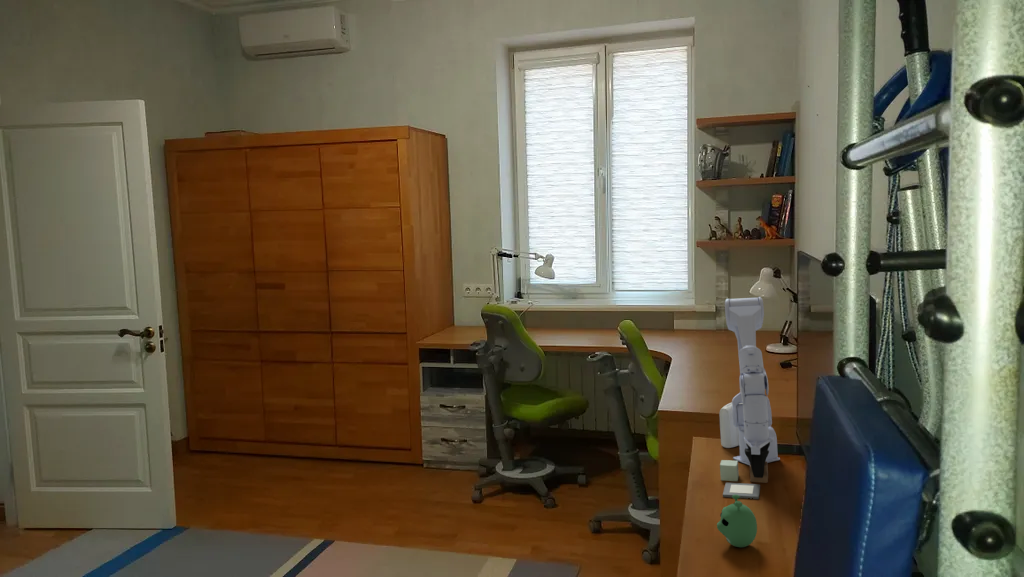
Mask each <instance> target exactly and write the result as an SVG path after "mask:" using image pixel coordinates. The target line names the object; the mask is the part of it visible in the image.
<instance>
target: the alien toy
mask: <svg viewBox="0 0 1024 577" xmlns="http://www.w3.org/2000/svg"><path fill="white" fill-rule="evenodd" d="M731 498H732V499H734V503H731V504H729V505H727V506H724V507H722V510H721V513H720V515H719V516H720V520H719V521H718V522H717V523H716V528H717V530H718V531H719V532H720V533H721V534H722V535H723V536H724V538H726V542H727V543H729V544H730V545H731V546H733V547H737V548H746V547H748V546H750V545H751V544H753V542H754V540H755V539H756V536H757V532H758V523H757V519H756V516H755V514H754V513H753V511H752V510H751V508H750V507H748V506H747V505H746V504H743V502H741V501H740V500H739V499H741V498H740V496H739V495H733V496H732V497H731Z"/></svg>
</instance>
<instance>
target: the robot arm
mask: <svg viewBox="0 0 1024 577" xmlns="http://www.w3.org/2000/svg"><path fill="white" fill-rule="evenodd" d="M724 312H725V313H724V315H725V321H726V322H725V323H726V326H727V330H729V331H730V332H731V331H732V332H733V333H734V335H735V337H736V340H737V351H738V354H737V355H738V362H739V377H738V378H739V379H738V380H739V393H737V394H736V395H735V396H734V397H732V400H731V402H732V418H733V425H734V426H735V427H738V431H739V445H738V447H739V455H737V456H733V457H732V459H733V461H738V462H740V463H742V464H745V465H747V466H750V465H751V468H752V472H753V475H754V477H757V478H763V475H764V467H765V462H767V464H768V463H773V462H777V461H780V460H781V458H780V457H778V454H779V453H778V439H777V434H776V431H775V429H774V428H773V426H772V424H773V420H772V419H773V416H772V415H773V414H772V408H771V407H772V406H771V403H770V399H769V397H768V395H769V390H770V388H769V379H768V375H767V371H766V368H764V366H765V365H764V360H763V353H762V350H761V349H760V348H759V347H757V334H756V333H757V332H756V331H758V330H761V329H763V328H762V327H763V324H764V317H765V308H764V300H763V298H762V297H761V296H758V297H742V298H740V297H739V298H726V299H725V300H724ZM739 403H743V404H739Z"/></svg>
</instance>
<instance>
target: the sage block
mask: <svg viewBox="0 0 1024 577" xmlns="http://www.w3.org/2000/svg"><path fill="white" fill-rule="evenodd" d="M719 470H720V471H719V472H720V473H719V474H720V481H726V482H727V481H729V482H739V477H740V476H739V472H740V471H739V461H737V460H729V459H721V460H720V463H719Z"/></svg>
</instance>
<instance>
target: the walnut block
mask: <svg viewBox="0 0 1024 577" xmlns="http://www.w3.org/2000/svg"><path fill="white" fill-rule="evenodd" d="M768 468H769V466H768V463H767V462H765V467H764V475H763V478H757V477H754V475H753V472H752V468H751V465H749V480H750V483H768V482H769V470H768Z"/></svg>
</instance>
